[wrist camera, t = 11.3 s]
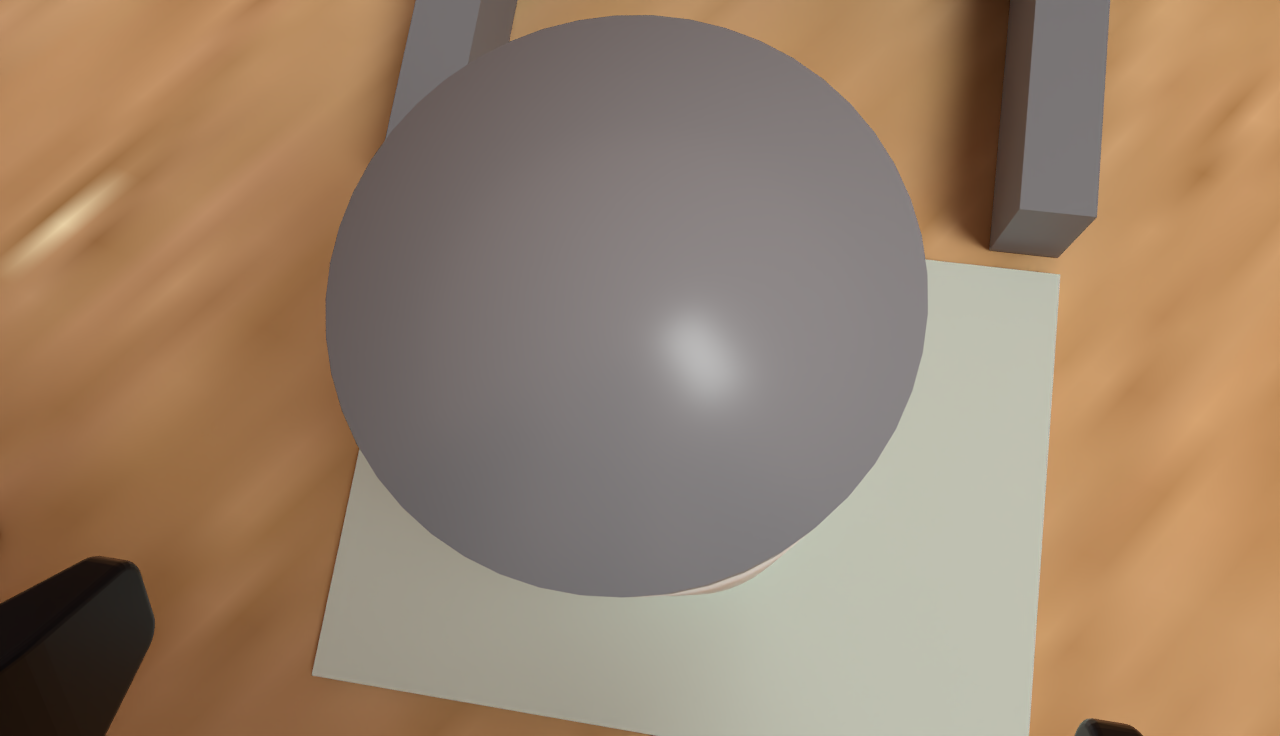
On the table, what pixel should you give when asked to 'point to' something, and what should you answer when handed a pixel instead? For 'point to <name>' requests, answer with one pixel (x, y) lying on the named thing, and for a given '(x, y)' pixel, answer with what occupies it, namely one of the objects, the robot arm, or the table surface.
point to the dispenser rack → (1029, 124)
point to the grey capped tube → (627, 307)
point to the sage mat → (769, 578)
